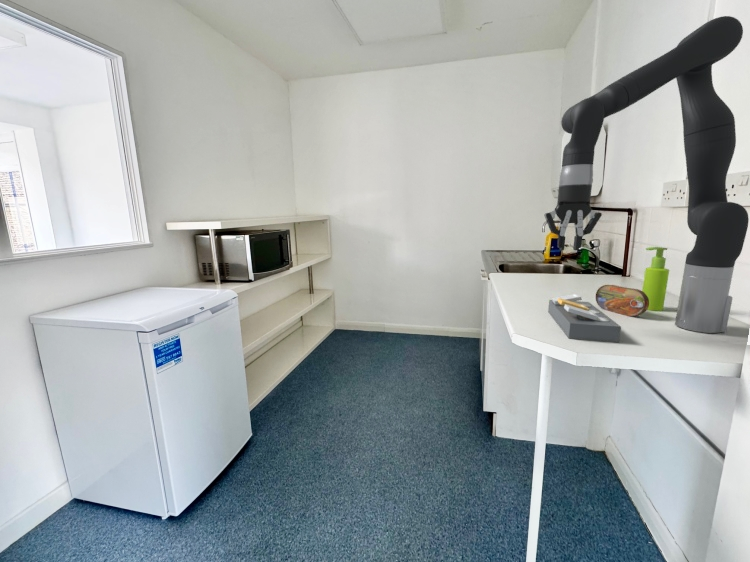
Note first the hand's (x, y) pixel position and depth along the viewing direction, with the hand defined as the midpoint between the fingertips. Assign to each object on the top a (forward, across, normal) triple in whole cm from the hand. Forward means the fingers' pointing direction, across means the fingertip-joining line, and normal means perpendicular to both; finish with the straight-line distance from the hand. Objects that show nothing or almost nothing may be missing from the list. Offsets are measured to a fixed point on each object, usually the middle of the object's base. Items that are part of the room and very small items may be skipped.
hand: (568, 249), depth 93 cm
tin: (+21, -20, -17) cm, 34 cm away
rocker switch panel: (+21, -4, 0) cm, 22 cm away
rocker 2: (+15, -2, 0) cm, 16 cm away
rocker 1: (+15, -2, -7) cm, 17 cm away
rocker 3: (+15, -2, +7) cm, 17 cm away
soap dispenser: (+21, -32, -24) cm, 45 cm away
